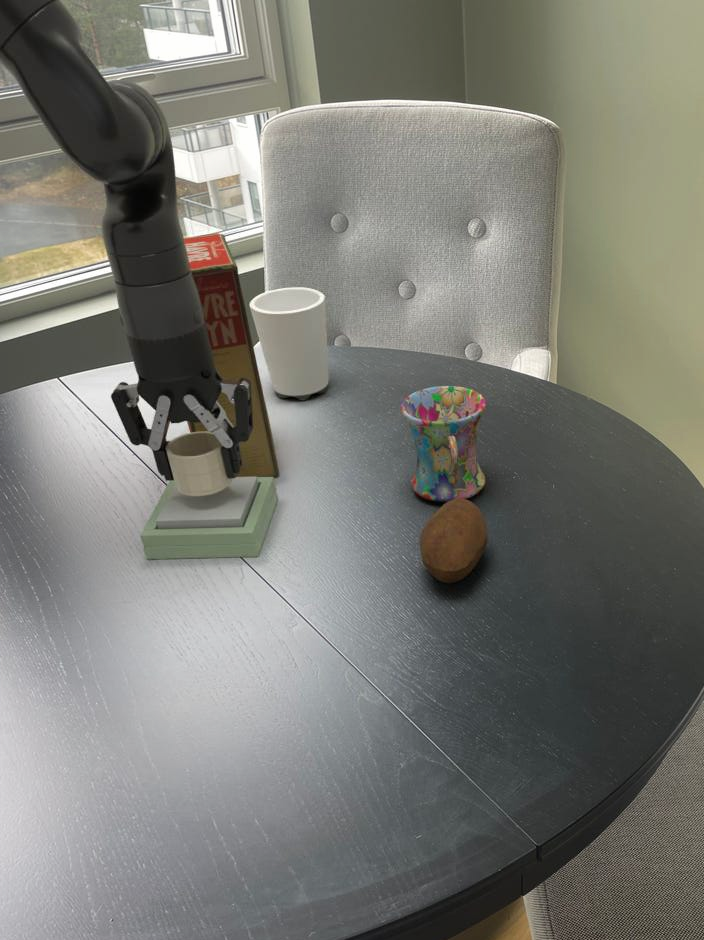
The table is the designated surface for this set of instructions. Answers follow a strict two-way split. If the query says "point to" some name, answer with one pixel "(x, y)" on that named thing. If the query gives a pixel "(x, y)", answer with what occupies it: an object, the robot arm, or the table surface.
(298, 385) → the cup
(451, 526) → the potato
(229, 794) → the table surface
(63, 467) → the table surface
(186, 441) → the beige round pot
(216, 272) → the food packaging
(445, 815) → the table surface
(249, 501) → the pan
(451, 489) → the mug
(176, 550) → the scale
